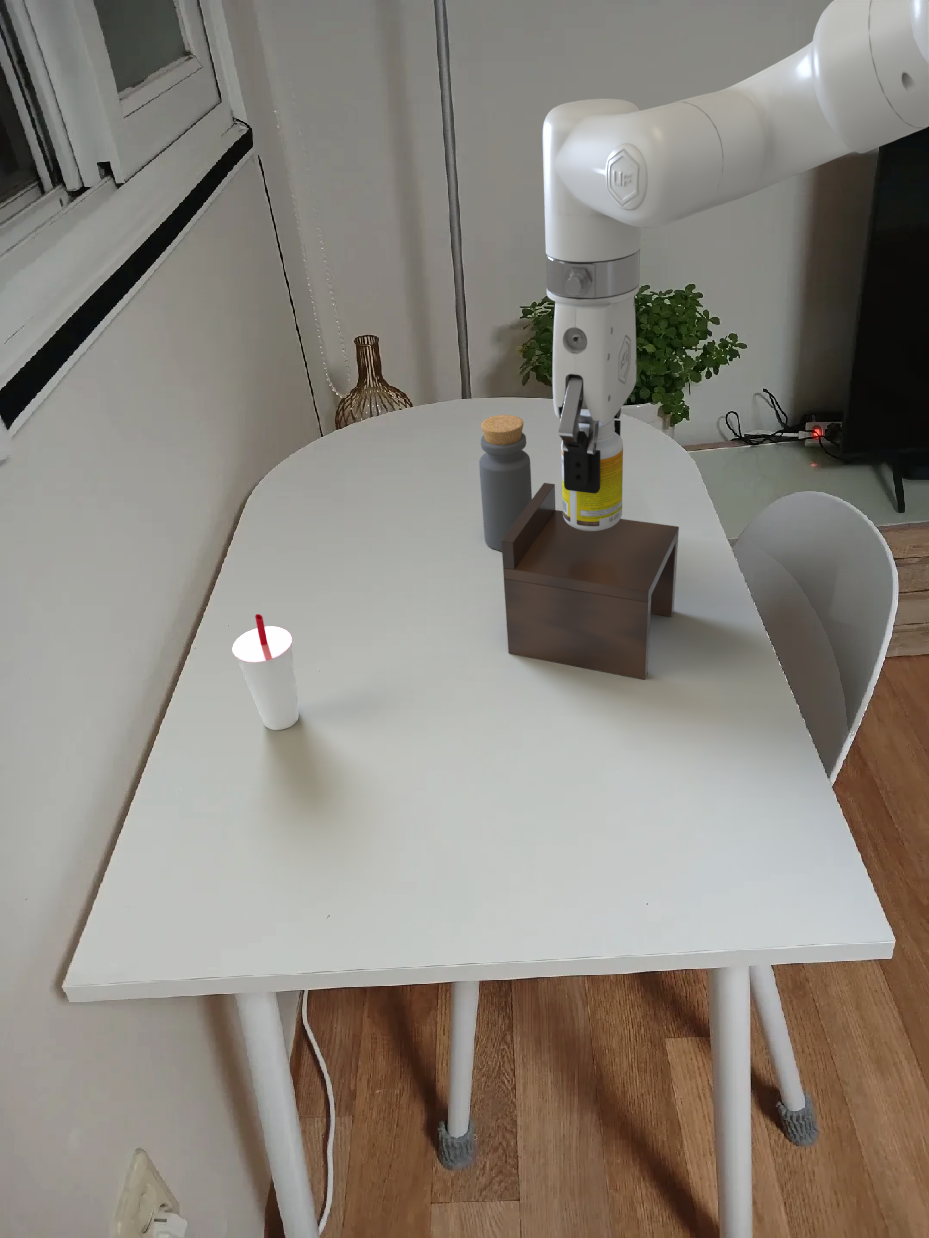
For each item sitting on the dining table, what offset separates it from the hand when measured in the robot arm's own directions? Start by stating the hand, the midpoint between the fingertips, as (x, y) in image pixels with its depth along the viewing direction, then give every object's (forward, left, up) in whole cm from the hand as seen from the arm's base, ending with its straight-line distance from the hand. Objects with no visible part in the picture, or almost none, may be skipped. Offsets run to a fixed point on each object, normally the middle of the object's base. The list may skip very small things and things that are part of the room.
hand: (592, 472), depth 88 cm
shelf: (0, 0, -18) cm, 18 cm away
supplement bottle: (0, 0, -5) cm, 5 cm away
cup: (+24, +22, -18) cm, 37 cm away
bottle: (+15, -15, -18) cm, 28 cm away
